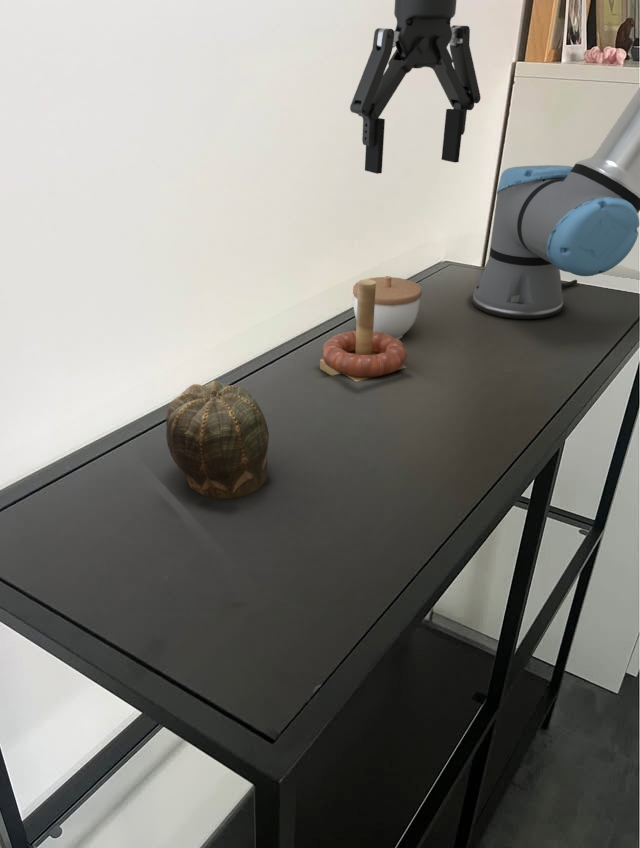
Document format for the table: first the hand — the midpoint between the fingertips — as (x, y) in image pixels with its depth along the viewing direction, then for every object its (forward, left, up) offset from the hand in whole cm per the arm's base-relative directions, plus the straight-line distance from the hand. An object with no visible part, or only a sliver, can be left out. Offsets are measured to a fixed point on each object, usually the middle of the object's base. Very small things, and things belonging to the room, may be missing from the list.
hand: (412, 166), depth 105 cm
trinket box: (-2, -6, -27) cm, 28 cm away
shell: (+42, +20, -27) cm, 54 cm away
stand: (+10, +4, -27) cm, 29 cm away
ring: (+10, +4, -24) cm, 26 cm away
